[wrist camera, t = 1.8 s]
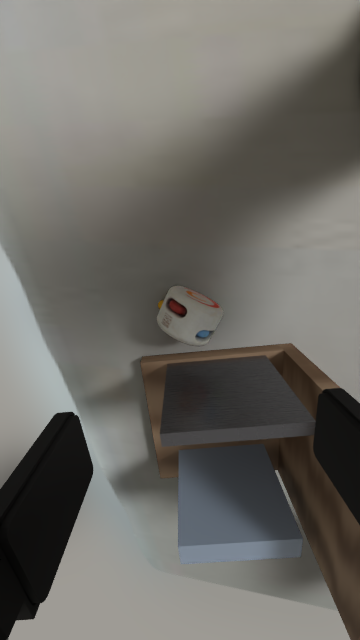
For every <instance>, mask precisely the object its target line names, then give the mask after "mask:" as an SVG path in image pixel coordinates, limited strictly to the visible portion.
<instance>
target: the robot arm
mask: <svg viewBox="0 0 360 640" xmlns="http://www.w3.org/2000/svg"><path fill="white" fill-rule="evenodd" d="M313 452H314V455H315V457H316V459H317V460H318V462H319V463H320V465H321V466H322V468H323V470H324V471H325V473H326V474H327V476H328V477H329V479H330V480H331V482H332V483H333V485H334V487H335V488H336V490H337V491H338V493H339V494H340V496H341V497H342V499H343V500H344V502H345V503H346V505H347V507H348V508H349V510H350V511H351V513H352V514H353V516H354V517H355V519H356V520H357V522H358V524H359V525H360V403H359V402H357V401H356V400H355V399H354V398H353V397H352V396H350V395H349V394H348V393H347V392H346V391H345V390H343V389H342V388H332V389H324V390H323V391H322V393H321V394H319V396H318V403H317V413H316V423H315V432H314V442H313ZM92 475H93V464H92V461H91V457H90V454H89V451H88V447H87V444H86V440H85V437H84V433H83V430H82V427H81V423H80V420H79V417H78V416H77V415H75V414H74V413H73V412H63V413H57V414H55V415H54V416H53V418H52V419H51V421H50V422H49V423H48V425H47V426H46V427H45V429H44V430H43V432H42V433H41V434H40V436H39V437H38V438H37V440H36V441H35V442H34V444H33V446H32V447H31V448H30V449H29V451H28V452H27V453H26V455H25V456H24V458H23V459H22V460H21V462H20V463H19V465H18V466H17V467H16V469H15V470H14V471H13V473H12V474H11V476H10V477H9V478H8V480H7V481H6V482H5V484H4V485H3V487H2V488H1V489H0V640H8V637H9V635H10V633H11V630H12V628H13V626H14V623H15V621H16V620H28V619H34V618H35V615H36V612H37V610H38V607H39V605H40V603H42V602H44V601H45V599H46V598H47V596H48V594H49V591H50V589H51V586H52V583H53V580H54V578H55V575H56V572H57V570H58V567H59V564H60V562H61V558H62V556H63V554H64V551H65V548H66V545H67V543H68V540H69V537H70V535H71V532H72V529H73V527H74V524H75V521H76V519H77V516H78V513H79V510H80V508H81V505H82V502H83V500H84V497H85V494H86V492H87V489H88V486H89V483H90V481H91V478H92Z"/></svg>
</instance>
